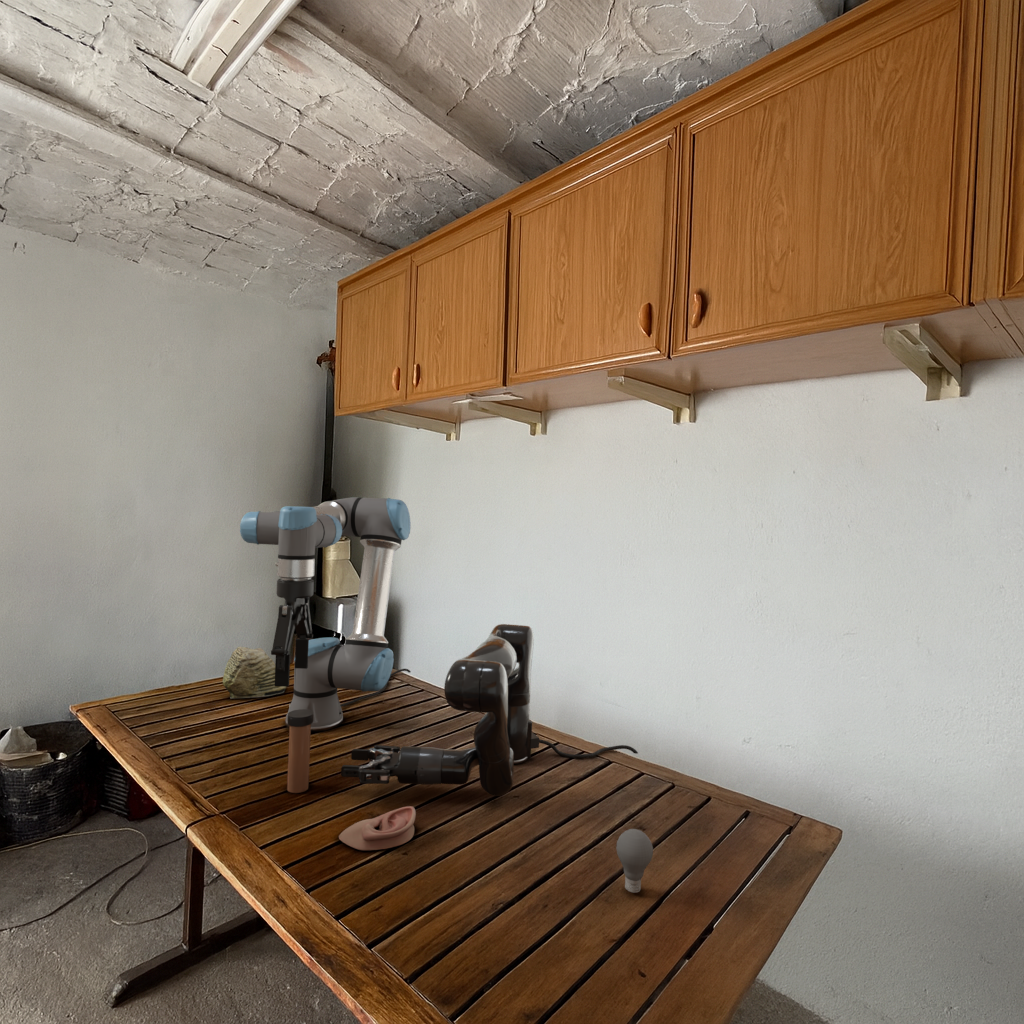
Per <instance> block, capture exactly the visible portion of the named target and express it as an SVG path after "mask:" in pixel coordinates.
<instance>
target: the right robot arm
mask: <svg viewBox="0 0 1024 1024" xmlns="http://www.w3.org/2000/svg"><path fill="white" fill-rule="evenodd" d="M534 643H535V633H534V629H533V627H531V626H530V625H521V624H508V623H500V624H497V625H495V626H494V627H493V628H492V629H491V631H490V633H489V635H488V637H487V638H486V639H485V641H483V642H482V643H480V645H479V646H478V647H476V648H475V650H473V651H471V653H470V654H468V655H467V656H464V657H461V658H459V659H457V660H455V661H454V662H453V663H452V665H451V666H450V667H449V670H448V672H447V675H446V676H445V680H444V687H443V688H444V689H443V692H444V697H445V700H446V703H447V704H448V706H449V707H450V708H452V709H453V710H456V711H460V712H469V713H484V715H483V716H481V718H480V719H479V720H478V722H477V724H476V726H475V727H474V730H473V742H474V743H473V744H474V747H469V748H465V749H454V748H453V749H452V748H448V749H447V748H438V747H433V746H432V747H430V746H408V745H407V746H405V745H404V746H402V747H400V746H395V745H384V744H383V745H381V744H375V745H373V747H370V748H369V749H368V748H367V749H364V748H363V749H362V748H354V749H352V750H351V753H350V754H351V755H350V758H351V760H352V761H366V762H368V761H369V762H368V764H364V765H355V764H343V765H342V766H341V768H340V776H341V777H342V778H358V779H359V783H360V784H364V785H365V784H366V785H367V784H368V785H388V784H390V779H391V778H390V777H396V778H397V782H398V783H399V784H402V785H405V784H406V785H426V786H429V785H430V786H434V785H457V786H458V785H459V786H461V785H466V784H467V783H468V781H469V780H470V776H471V773H472V770H473V769H474V768H475V767H478V773H479V783H480V786H481V788H482V789H483V790H484V792H486V793H487V794H489V795H490V796H493V797H501V796H505V795H506V794H508V793H509V792H510V791H511V789H512V788H513V785H514V777H515V776H514V771H515V765H518V764H523V763H525V762H526V761H527V760H531V759H532V750H533V749H539V748H540V744H543V745H546V746H547V747H549V748H551V749H552V750H553V751H554V753H555V754H557V755H558V756H561V757H563V758H568V759H588V758H594V757H596V756H598V755H600V754H602V753H604V752H610V751H616V750H629V751H630V752H632V753H633V754H636V755H637V754H639V752H638V751H637V750H636V749H635V748H634V747H632V746H630V745H627V744H619V745H614V746H608V747H602V748H599V749H598V750H596V751H594V752H591V753H580V754H574V753H573V754H571V753H566V752H563V751H561V750H559V749H558V748H557V747H556V745H554V743H552V742H550V741H548V740H545V739H540V737H539V736H538V735H537V734H535V733H534V732H533V721H532V720H531V719H530V710H531V709H530V708H531V687H532V685H531V683H532V665H533V655H534ZM517 664H518V666H517ZM516 666H517V667H516Z"/></svg>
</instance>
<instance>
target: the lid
mask: <svg viewBox="0 0 1024 1024" xmlns="http://www.w3.org/2000/svg"><path fill="white" fill-rule="evenodd" d="M287 713H288V712H287ZM312 723H313V711H311V710H307V709H299V710H294V711H291V712H289V713H288V725H290V726H294V727H302V726H307V725H310V724H312Z"/></svg>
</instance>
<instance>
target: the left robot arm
mask: <svg viewBox="0 0 1024 1024" xmlns="http://www.w3.org/2000/svg"><path fill="white" fill-rule="evenodd" d="M239 524H240V525H239V533H240V536H241V539H242V540H243V541H244V542H245V543H247V544H256V545H258V546H259V545H271V546H277V547H278V548H277V549H278V551H277V553H278V554H277V561H276V562H275V566H276V567H277V577H279V578H278V579H277V580H276V597H278V598H280V599H281V598H282V599H284V604H280V605H279V606H278V614H277V615H278V617H277V621H276V627H275V631H274V638H273V642H272V648H271V650H270V655H272V656H275V662H274V663H275V686H284V687H286V688H287V687H290V676H291V675H290V672H291V671H290V670H291V653H290V649H291V645H292V641H293V637H294V633H296V637H297V638H296V639H295V646H294V647H295V648H294V649H295V650H294V651H295V652H294V659H293V661H294V672H293V695H292V696H293V697H292V699H291V702H290V703H288V707H289V708H288V711H287V713H286V715H285V726H286V728H287V729H289V725H288V713H289V712H291V711H294V710H299V709H307V710H311V711H313V723H312V724H311V733H316V732H325V731H329V730H332V729H335V728H337V727H339V726H340V725H342V723H343V722H344V714H343V709H342V707H346V706H348V705H351V704H354V703H356V702H359V701H362V700H365V699H368V698H371V697H374V696H377V695H379V694H381V693H382V692H383V691H385V690H386V688H387V687H388V684H389V681H390V678H391V677H392V676H394V675H397V674H398V673H401V672H407V673H411V670H410V669H408V668H400V669H398V670H396V671H394V672H392V671H393V668H394V661H395V659H394V656H395V655H394V652H393V650H392V649H391V648H389V641H388V640H387V637H385V629H386V621H387V613H388V607H389V606H388V605H389V598H390V591H391V584H392V583H391V582H392V575H393V570H394V569H393V568H394V561H395V553H396V551H398V550H399V549H400V548H401V547H402V542H403V541H405V540H408V538H409V537H410V534H411V516H410V510H409V508H408V505H407V503H406V502H404V501H403V500H402V499H397V498H396V499H395V498H391V497H381V498H380V497H360V496H352V497H344V498H340V499H339V498H338V499H334V500H333V499H332V500H327V501H324V502H321V503H320V504H318V505H315V506H300V505H299V506H297V505H295V506H294V505H285V506H283V507H281V508H280V510H273V511H260V510H258V511H248V512H246V513H245V514H244V515H243V516H242V518H241V520H240V523H239ZM342 536H347V537H355V538H360V539H359V543H360V544H361V546H362V547H363V548H364V550H363V556H362V563H361V572H360V577H359V585H358V592H357V599H356V604H355V605H356V606H355V613H354V620H353V625H352V632H351V634H350V635H348V636H347V637H346V638H345V643H344V644H340V643H341V641H340V639H339V638H338V637H334V636H331V637H330V636H329V637H318V638H314V633H313V629H312V628H313V627H312V619H311V618H312V617H311V611H310V609H311V608H310V598H311V597H313V596H314V589H315V588H314V587H315V580H314V579H313V577H315V566H316V565H315V564H316V562H315V561H316V560H315V558H316V556H315V555H316V554H315V553H316V549H318V548H319V549H320V548H328V547H331V546H334V545H336V544H338V542H339V541H340V539H341V537H342ZM338 689H342V690H351V691H359V692H360V691H361V692H374V693H370V694H367V695H364V696H361V697H358V698H355V699H352V700H350V701H347V702H344V703H341V702H340V699H339V695H338Z"/></svg>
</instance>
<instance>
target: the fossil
mask: <svg viewBox="0 0 1024 1024" xmlns="http://www.w3.org/2000/svg"><path fill="white" fill-rule="evenodd" d="M222 676H223V677H222V685H223V687H224V688H225V690H226V691H228V693H229V698H230V699H250V698H264V697H271V696H275V695H281V694H284V693H285V691H286V689H287V687H284V686H275V662H274V660H273V659H272V658H271V657H270V656H269V655H268V654H267V653H266V652H265V650H264V649H263V648H260V647H258V648H251V647H247V646H246V647H245V646H238V647H237V648H236V649H235V650H233V651H232V653H231V656H230V657H229V659H228V660H227V663H226V666H225V668H224V671H223V675H222Z"/></svg>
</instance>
